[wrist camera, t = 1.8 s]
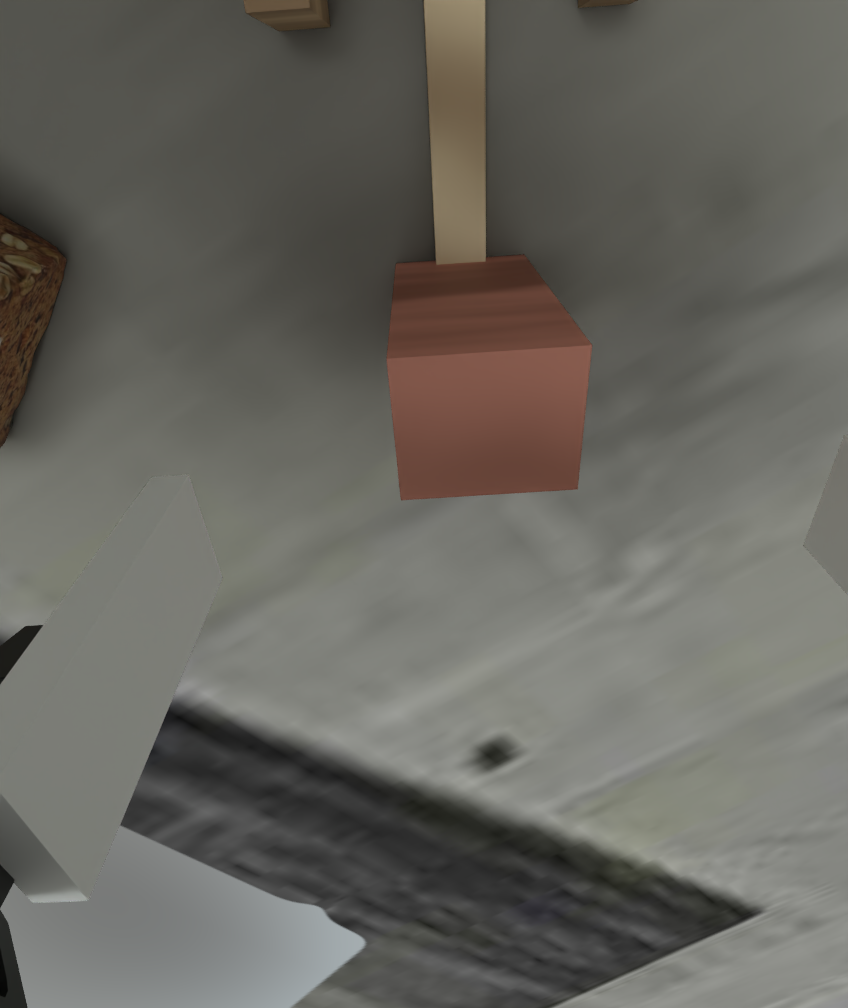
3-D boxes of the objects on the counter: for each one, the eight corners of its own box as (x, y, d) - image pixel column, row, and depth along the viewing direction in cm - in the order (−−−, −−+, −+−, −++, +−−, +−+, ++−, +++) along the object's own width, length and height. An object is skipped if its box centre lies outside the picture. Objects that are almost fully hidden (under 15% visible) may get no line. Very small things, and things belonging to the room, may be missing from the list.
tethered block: (296, -577, 13) (74, -1899, 4) (579, -605, 12) (915, -2021, 4) (390, 366, 24) (378, 501, 16) (535, 356, 24) (599, 488, 16)
